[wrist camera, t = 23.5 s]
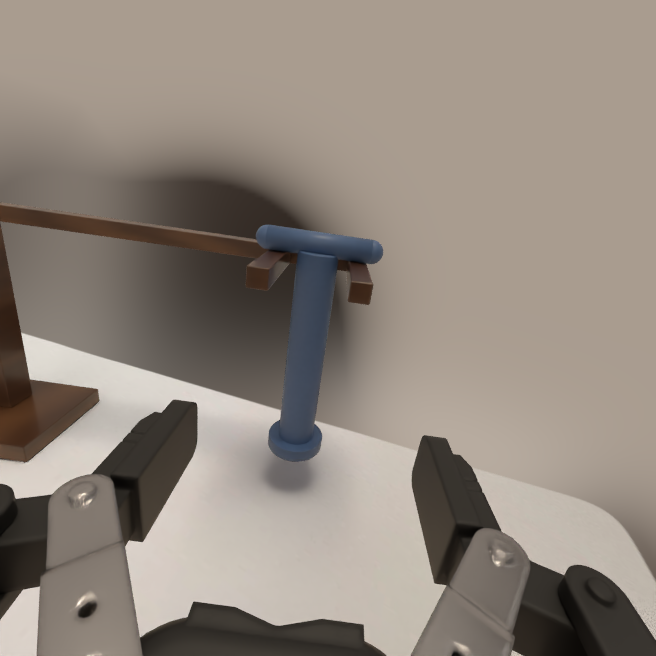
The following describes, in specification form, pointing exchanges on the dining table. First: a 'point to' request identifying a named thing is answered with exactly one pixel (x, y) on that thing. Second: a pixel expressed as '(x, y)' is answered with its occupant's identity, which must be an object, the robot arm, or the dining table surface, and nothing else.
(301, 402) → the peg
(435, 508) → the robot arm
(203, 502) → the dining table surface
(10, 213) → the stand
